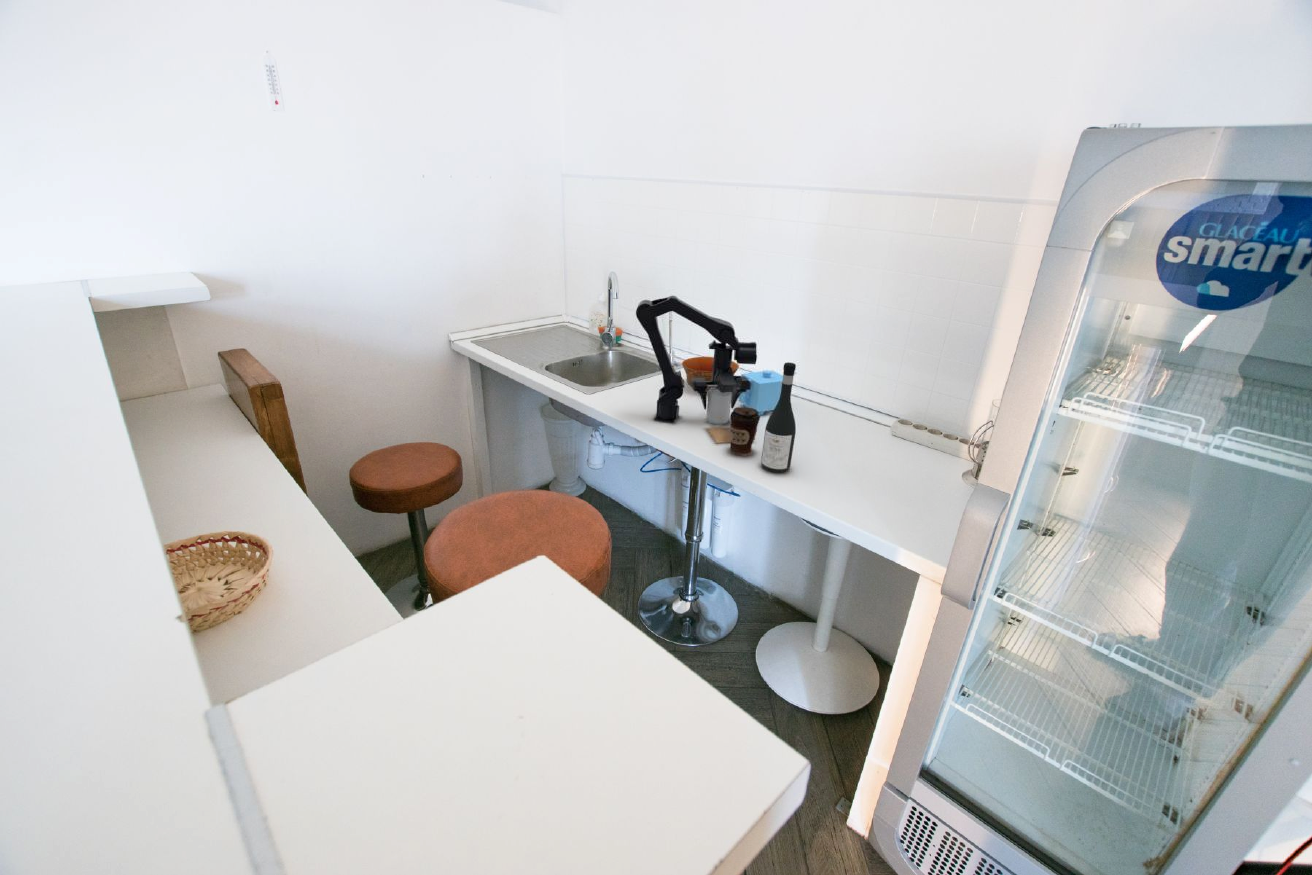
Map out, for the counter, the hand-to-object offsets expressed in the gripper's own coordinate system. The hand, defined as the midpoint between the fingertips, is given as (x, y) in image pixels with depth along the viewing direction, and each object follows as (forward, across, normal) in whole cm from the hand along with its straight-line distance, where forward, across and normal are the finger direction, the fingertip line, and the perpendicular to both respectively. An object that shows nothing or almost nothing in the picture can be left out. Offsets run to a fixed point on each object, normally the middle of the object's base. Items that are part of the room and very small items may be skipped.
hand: (718, 408), depth 188 cm
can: (+5, 0, 0) cm, 5 cm away
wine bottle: (+5, +6, -34) cm, 35 cm away
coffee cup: (+5, 0, -23) cm, 24 cm away
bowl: (+4, +6, +31) cm, 32 cm away
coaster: (+4, 0, -12) cm, 12 cm away
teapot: (+5, +21, +10) cm, 23 cm away
